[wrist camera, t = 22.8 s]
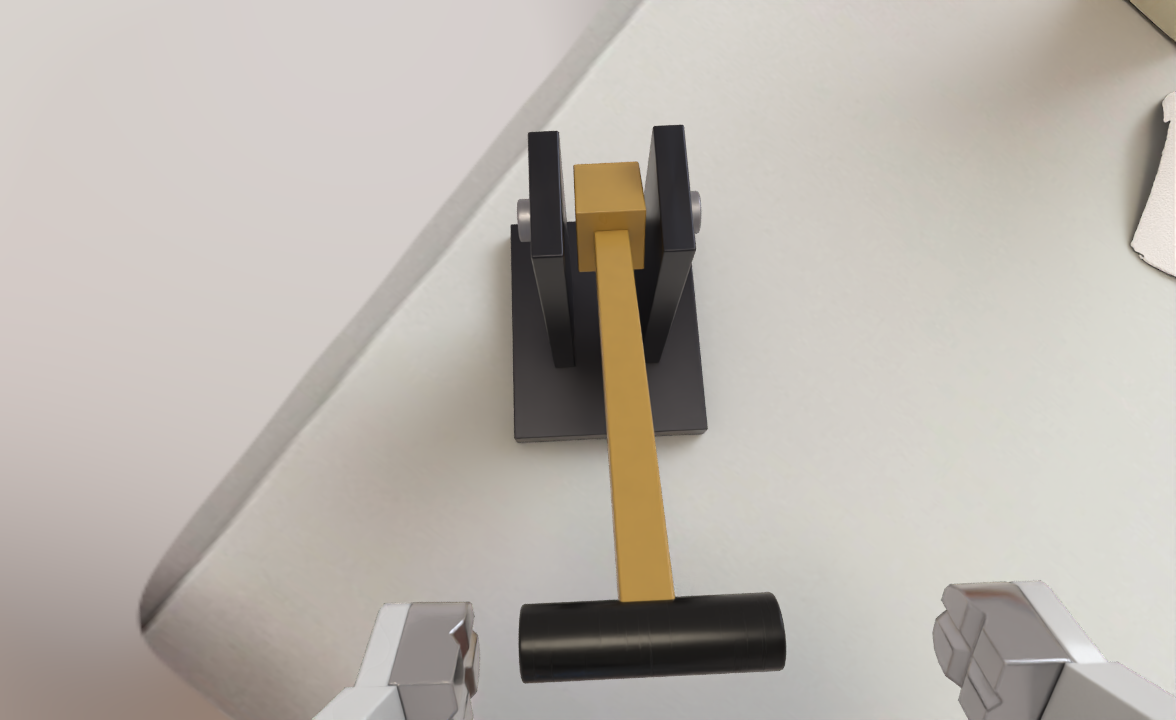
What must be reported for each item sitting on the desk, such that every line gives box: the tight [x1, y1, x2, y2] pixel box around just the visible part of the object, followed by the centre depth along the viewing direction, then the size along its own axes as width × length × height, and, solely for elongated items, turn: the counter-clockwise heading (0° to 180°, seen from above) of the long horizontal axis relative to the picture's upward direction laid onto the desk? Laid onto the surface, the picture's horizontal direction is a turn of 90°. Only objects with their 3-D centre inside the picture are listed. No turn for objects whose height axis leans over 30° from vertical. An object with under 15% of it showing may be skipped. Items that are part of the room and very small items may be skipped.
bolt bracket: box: [511, 125, 708, 443], centre depth 28 cm, size 11×9×14 cm
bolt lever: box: [519, 162, 786, 683], centre depth 18 cm, size 16×5×2 cm, turn 2°
